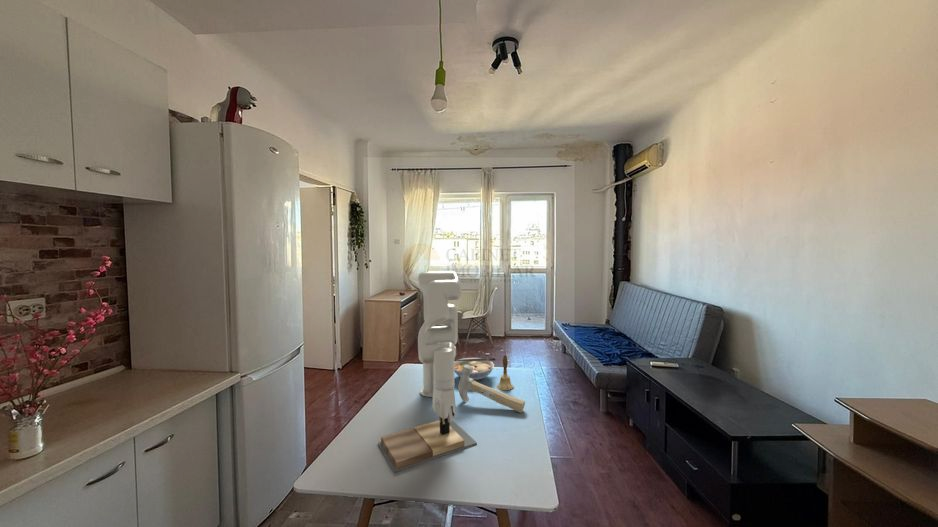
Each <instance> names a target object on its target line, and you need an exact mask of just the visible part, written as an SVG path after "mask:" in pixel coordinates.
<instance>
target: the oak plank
mask: <svg viewBox="0 0 938 527" xmlns="http://www.w3.org/2000/svg"><path fill="white" fill-rule="evenodd" d="M413 428H414V429H415V431H416V432H417V433H418V434H419V436H420V437H421V438H422V439H423V440H424V442H425V443H426V444H427V445H428V447H429V448H430V449H431V450H432V456H435V455H438V454H441V453H444V452H447V451H450V450H453V449H456V448H459V447H462V446H464V439H463V438H462V437H461V436H460V435H459V434H458V433H457V432H456V431H455V430H454V429H453V428H451V427H450V432H449V433H447V434H444V435H442V434H441V433H440V421H439V419H438V420H435V421H431V422H428V423H424V424H421V425H417V426H414V427H413Z"/></svg>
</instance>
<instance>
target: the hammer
mask: <svg viewBox="0 0 938 527" xmlns="http://www.w3.org/2000/svg"><path fill="white" fill-rule="evenodd" d="M472 371H473V367H472V366H470V365H464V367H463V368H462V376H461V377H459V378H460V379H459V381H458V385H457V386H458V387H457V389H458V393H459V397H460V399H461V400H462V401H463V402H464V404H467V402H468V401H470V397H469V396H468V391H472V392H474V393H477V394H478V395H479V394H480V395H482V396H483V397H486V398H487V399H489V400H492V401H493V402H496V403H498V404H499V405H502V406H505V407H507V408H509V409H511V410H513V411H515V412H518V413H520V414H521V413H523V412H524V408H525V406H526V401H525V400H523V399H520V398H518V397H514V396H512V395H509V394H506V393H505V392H502V391H501V390H500V391H499V389H495V388H492V387H489V386H487V385H484V384H482V383H480V382H478V381H477V380H476V381H473V379H472V378H469V375H470V374H472Z"/></svg>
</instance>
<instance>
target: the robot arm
mask: <svg viewBox="0 0 938 527" xmlns="http://www.w3.org/2000/svg"><path fill="white" fill-rule="evenodd" d="M417 282H418V285H419V288H420V290H421V293H422V296H423V320H424V322H423V323H422V325H421V327H420V329H419V331H418V335H417V351H418V359H419V361H420V363H422V371H423V372H422V375H423V376H422V382H423V384H422V385H423V386H422V387H421V388H420V391H419V393H420V395H421V396H423V397H425V398H426V397H427V398H432V411H433V412H434V413H435V414H436V415H437V416H438V420H439V421H440V433H441V434H442V435H444V434H447V433H449V432H450V422H453V421H454V417H455V416H456V394H455V386H456V384H455V372H454V360H455V358H456V356H457V347H456V344H457V343H458V339H459V338H458V337H459V335H458V334H459V332H458V331H459V327H458V325H459V319H458V318H459V315H458V314H459V313H458V309H457V306H456V305H455V304H454V303H452V304H451V303H449V301H457V300H460V299H461V297H462V292H463V290H462V289H463V288H462V285H461V281H460V278H459V277H458V273H456V272H455V271H453V270H447V271H446V270H445V271H444V270H443V271H442V270H440V271H439V270H437V271H436V270H435V271H433V270H432V271H430V270H429V271H423V272H421V273H419V274H418V276H417Z"/></svg>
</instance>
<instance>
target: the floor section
mask: <svg viewBox="0 0 938 527" xmlns="http://www.w3.org/2000/svg"><path fill="white" fill-rule="evenodd" d="M450 427H451V428H453V429H454V430H455V431H456V432H457V433H458V434H459V435H460V436H461V437H462V438H463V439H464V446H462V447H459V448H456V449H453V450H450V451H447V452H444V453H441V454H438V455H435V456H432V450H431V449H430V448H429V447H428V445H427V444H426V443H425V442H424V440H423V439H422V438H421V437H420V436H419V434H418V433H417V432H416V431H415V429H414V427H411V428H408V429H403V430H400V431H397V432H394V433H389V434H386V435H383V436H381V437H380V439H381V440H380V441H378V442H377V445H378V444H379V445H378V446H380V447H379V448H380V450H381V452H382V451H383V452H382V454H383V453H384V454H383V456H384V457H385V459H386V461H387V462H388V464H389V466H390V468H391V469H392V471H393V473H397V472H400V471H402V470H406V469H409V468H411V467H414V466H417V465H420V464H423V463H426V462H429V461H433V460H435V459H438V458H440V457H444V456H446V455H450V454H452V453H456V452H458V451H461V450H462V451H463V450H465V449H466V448H467V449H468V448H470V447H473V446H476V445H477V444H478V442H477V441H476V440H474V438H473V437H472V436H470V435H469V434H468V433H467V432H466V431H465V430H464V429H463V428H462V427H461V426H459V424H458V423H456V422H455V421H454V420H453V422H450Z"/></svg>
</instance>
